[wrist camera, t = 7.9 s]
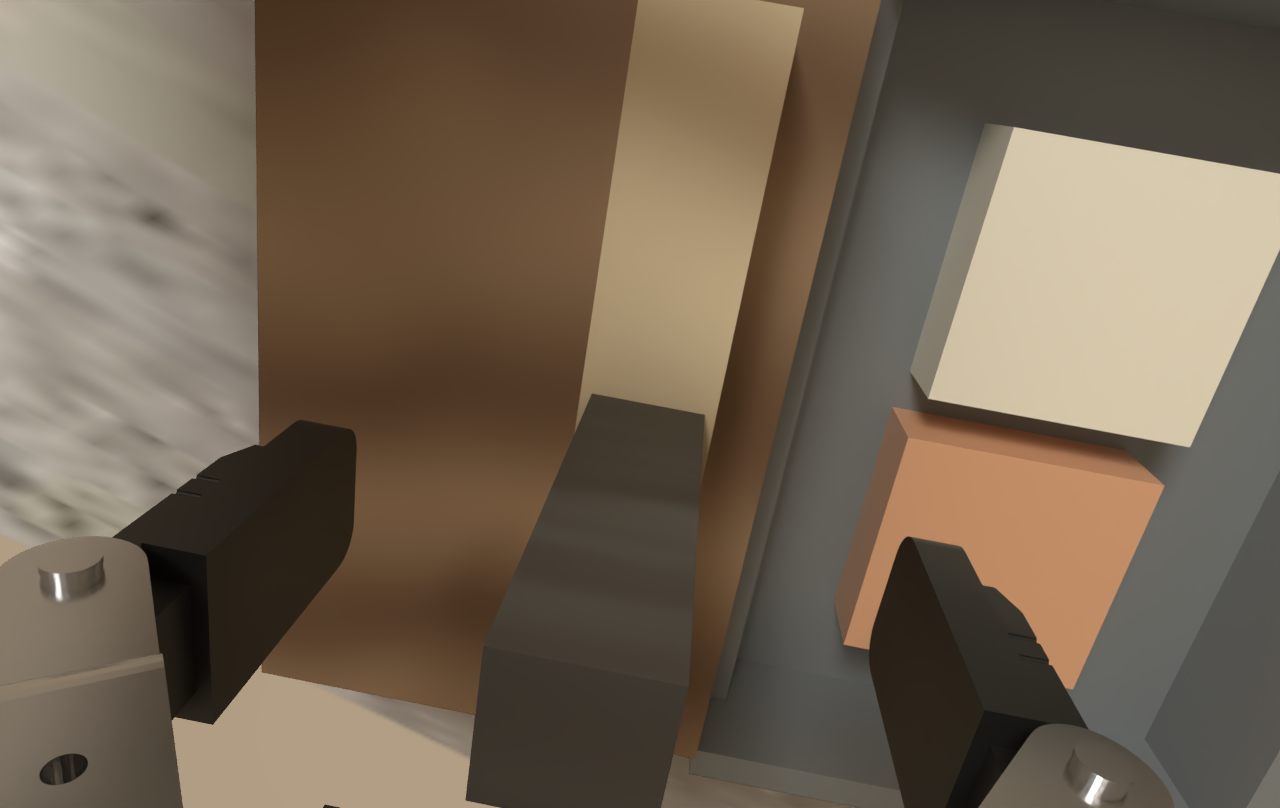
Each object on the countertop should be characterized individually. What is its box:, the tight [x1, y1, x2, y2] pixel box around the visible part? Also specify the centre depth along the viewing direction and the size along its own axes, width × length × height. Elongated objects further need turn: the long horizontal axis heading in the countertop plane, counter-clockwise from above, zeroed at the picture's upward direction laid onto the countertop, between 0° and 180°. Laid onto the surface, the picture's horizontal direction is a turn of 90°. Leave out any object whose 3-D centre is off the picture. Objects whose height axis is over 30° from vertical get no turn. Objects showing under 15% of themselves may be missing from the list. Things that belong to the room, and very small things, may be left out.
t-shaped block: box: [466, 0, 804, 808], centre depth 13 cm, size 15×2×10 cm, turn 171°
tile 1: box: [834, 407, 1165, 689], centre depth 21 cm, size 6×6×2 cm
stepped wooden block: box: [255, 0, 881, 759], centre depth 19 cm, size 18×11×5 cm, turn 171°
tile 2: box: [910, 123, 1280, 447], centre depth 19 cm, size 6×6×2 cm
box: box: [689, 0, 1280, 808], centre depth 19 cm, size 20×14×4 cm
